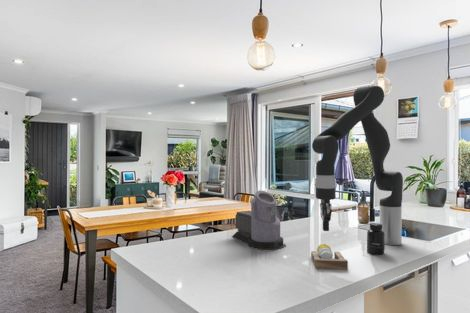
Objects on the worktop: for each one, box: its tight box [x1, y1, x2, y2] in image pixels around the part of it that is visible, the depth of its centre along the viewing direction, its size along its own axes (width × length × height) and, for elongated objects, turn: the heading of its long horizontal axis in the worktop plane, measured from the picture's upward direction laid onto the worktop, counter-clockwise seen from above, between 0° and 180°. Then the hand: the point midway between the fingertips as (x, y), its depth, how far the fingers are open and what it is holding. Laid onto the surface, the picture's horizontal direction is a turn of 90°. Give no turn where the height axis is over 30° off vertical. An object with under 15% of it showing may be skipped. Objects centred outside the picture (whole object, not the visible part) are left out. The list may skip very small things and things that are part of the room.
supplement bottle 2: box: [366, 222, 386, 256], centre depth 134 cm, size 7×7×12 cm
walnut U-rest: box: [310, 250, 349, 271], centre depth 121 cm, size 13×11×3 cm
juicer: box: [231, 190, 287, 251], centre depth 152 cm, size 30×16×24 cm, turn 32°
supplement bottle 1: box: [316, 243, 334, 259], centre depth 125 cm, size 5×5×10 cm
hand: (325, 230), depth 127 cm, fingers closed
